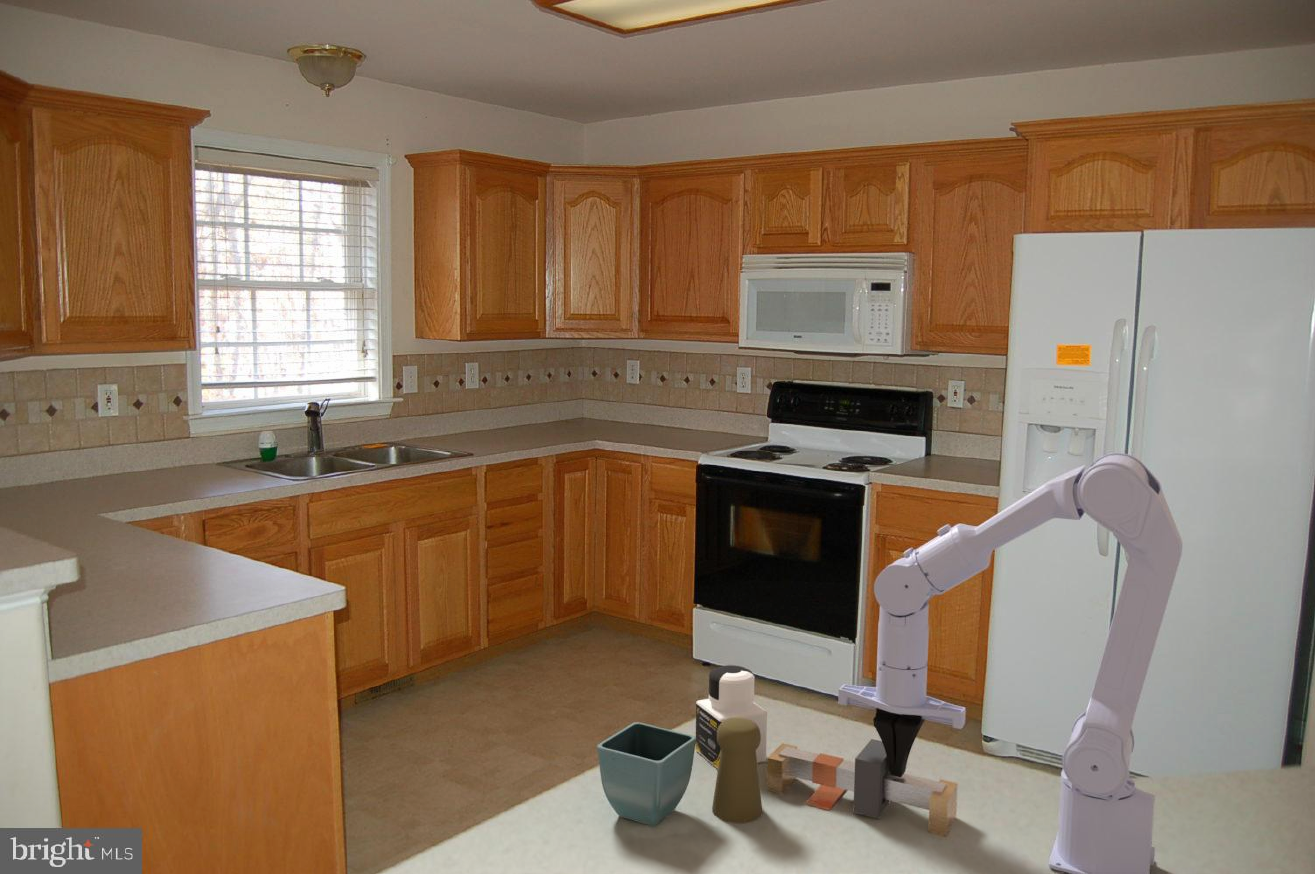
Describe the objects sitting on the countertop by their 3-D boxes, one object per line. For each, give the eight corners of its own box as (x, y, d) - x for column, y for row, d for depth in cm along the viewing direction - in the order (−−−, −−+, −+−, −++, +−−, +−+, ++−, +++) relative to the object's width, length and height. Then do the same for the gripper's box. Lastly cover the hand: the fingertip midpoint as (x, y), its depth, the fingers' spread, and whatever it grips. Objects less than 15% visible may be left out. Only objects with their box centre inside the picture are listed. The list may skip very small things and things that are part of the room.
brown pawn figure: (760, 825, 113) (762, 734, 112) (708, 819, 114) (709, 729, 113) (765, 801, 119) (766, 713, 117) (715, 795, 120) (717, 709, 119)
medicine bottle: (694, 750, 133) (695, 665, 131) (740, 741, 136) (741, 658, 134) (719, 772, 126) (721, 682, 125) (767, 762, 129) (769, 674, 128)
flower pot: (634, 789, 121) (635, 719, 120) (697, 807, 117) (698, 735, 116) (594, 819, 114) (594, 745, 113) (659, 839, 109) (660, 763, 108)
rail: (958, 813, 116) (959, 776, 115) (944, 840, 110) (945, 801, 109) (784, 771, 127) (785, 737, 126) (763, 793, 121) (764, 757, 120)
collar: (893, 795, 119) (895, 744, 119) (878, 818, 114) (880, 764, 113) (869, 790, 121) (871, 738, 120) (853, 811, 115) (855, 758, 115)
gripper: (973, 662, 114) (967, 773, 115) (852, 641, 121) (849, 746, 122) (959, 681, 108) (954, 798, 109) (833, 658, 115) (830, 768, 116)
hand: (897, 772), depth 115 cm, fingers closed
